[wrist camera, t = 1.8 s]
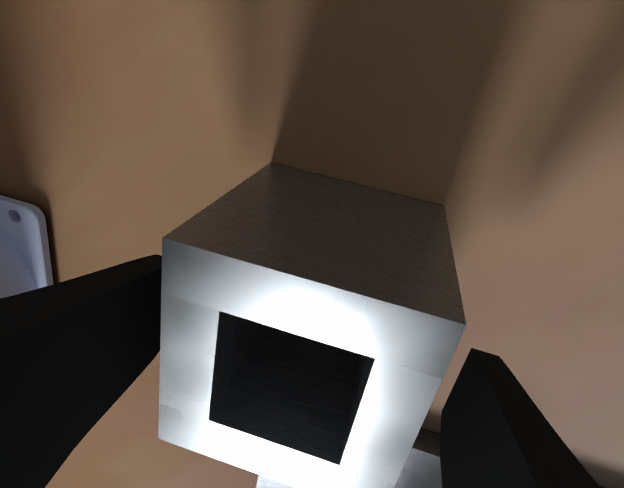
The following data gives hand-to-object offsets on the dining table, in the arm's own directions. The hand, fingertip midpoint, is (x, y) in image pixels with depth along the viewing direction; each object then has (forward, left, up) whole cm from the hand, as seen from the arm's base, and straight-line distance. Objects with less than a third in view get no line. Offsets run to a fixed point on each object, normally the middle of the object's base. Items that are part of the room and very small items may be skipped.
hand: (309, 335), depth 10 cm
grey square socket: (0, 0, -4) cm, 4 cm away
